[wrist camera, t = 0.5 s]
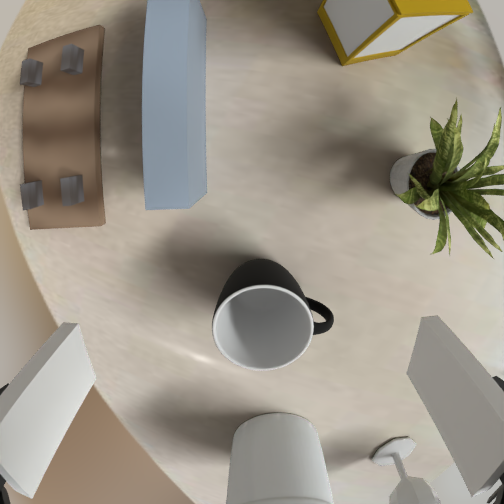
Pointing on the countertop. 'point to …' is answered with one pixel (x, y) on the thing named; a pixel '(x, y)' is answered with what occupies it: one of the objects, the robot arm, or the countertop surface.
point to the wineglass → (405, 474)
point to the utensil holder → (277, 462)
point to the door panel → (174, 104)
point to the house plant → (451, 183)
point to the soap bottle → (385, 25)
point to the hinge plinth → (63, 131)
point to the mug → (265, 317)
